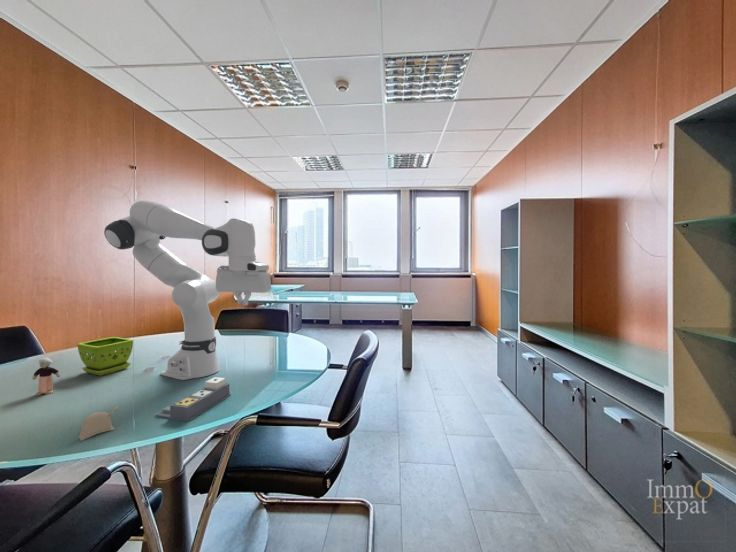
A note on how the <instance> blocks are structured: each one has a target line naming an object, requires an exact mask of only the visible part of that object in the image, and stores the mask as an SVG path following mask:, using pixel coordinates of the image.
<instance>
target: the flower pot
mask: <svg viewBox="0 0 736 552" xmlns="http://www.w3.org/2000/svg"><path fill="white" fill-rule="evenodd" d="M133 348H134V339H131V338H125V337H119V336H118V337H117V336H111V337H105V338H100V339H95V340H89V341H88V340H87V341H84V342H80V343H77V350H78V354H79V358H80V360H81V362H83V364H84V366H83V367H82V368H81V369H82V370H83V371H84V372H86V373H89V374H93V375H97V376H103V375H104V376H105V375H109V374H111V373H114V372H119V371H122V370H126V369H127V368H129V366H131V362H128V360H129V358H130V356H131V354H132V352H133Z"/></svg>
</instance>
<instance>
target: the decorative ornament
mask: <svg viewBox="0 0 736 552" xmlns="http://www.w3.org/2000/svg"><path fill="white" fill-rule="evenodd" d="M118 408H119V407H118V406H115V407H113V408H112V409H111V410H110V411H109V412H108V413H107V412H104V411H103V412H102V411H98V412H95V413H92V414H90V415H88V416H87V417H85V419H84V420H83V422H82V423H81V429H80V434H79V436H78V437H79V440H80V441H81V442H82V441H84V440H86V439H89V438H90V437H93V436H94V435H95V436H96V435H97V434H101V433H104V432H110V431H113V430H115V428H114V426H113V425H112V420H111V416H110V415H111V414H113V412H115V411H116V410H117V409H118Z"/></svg>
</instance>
